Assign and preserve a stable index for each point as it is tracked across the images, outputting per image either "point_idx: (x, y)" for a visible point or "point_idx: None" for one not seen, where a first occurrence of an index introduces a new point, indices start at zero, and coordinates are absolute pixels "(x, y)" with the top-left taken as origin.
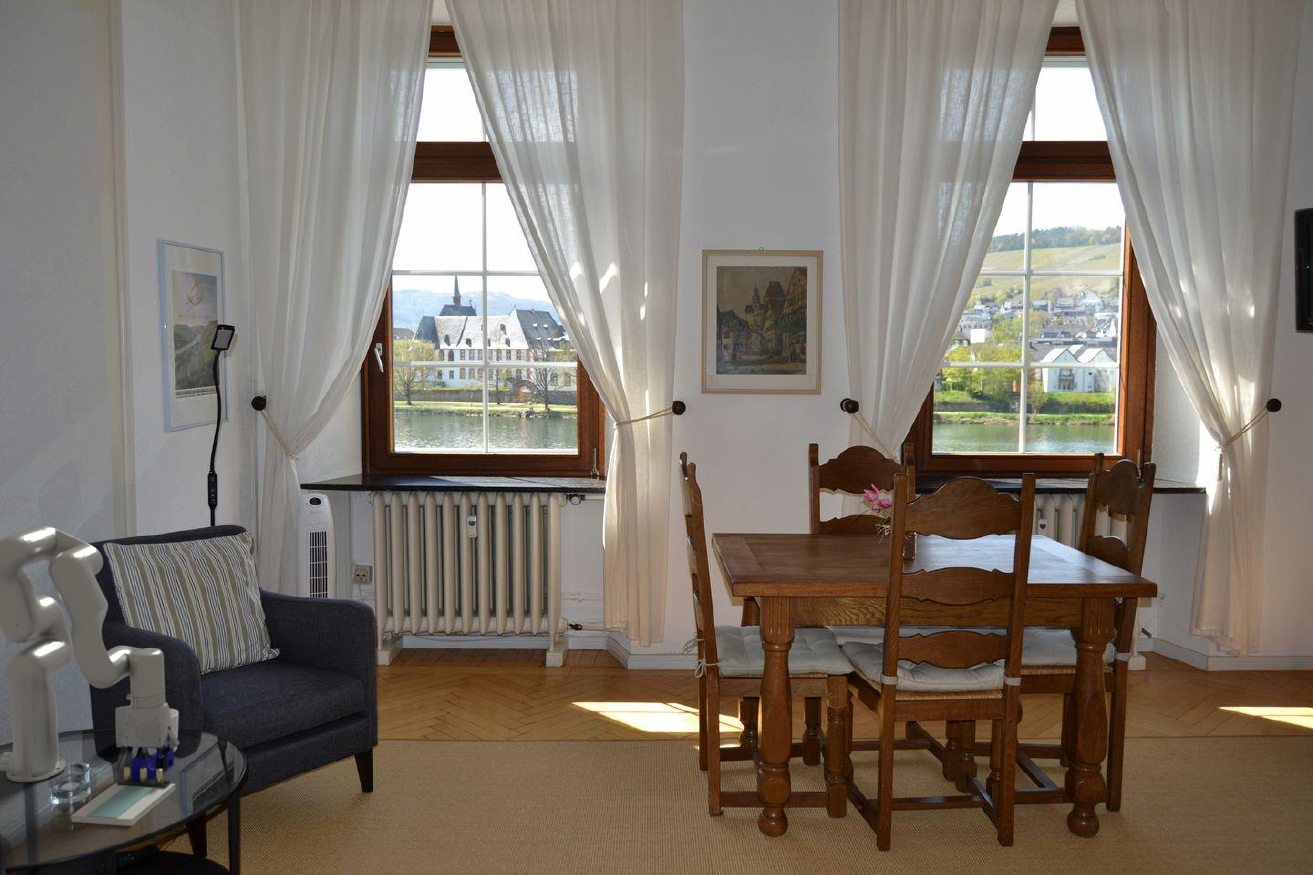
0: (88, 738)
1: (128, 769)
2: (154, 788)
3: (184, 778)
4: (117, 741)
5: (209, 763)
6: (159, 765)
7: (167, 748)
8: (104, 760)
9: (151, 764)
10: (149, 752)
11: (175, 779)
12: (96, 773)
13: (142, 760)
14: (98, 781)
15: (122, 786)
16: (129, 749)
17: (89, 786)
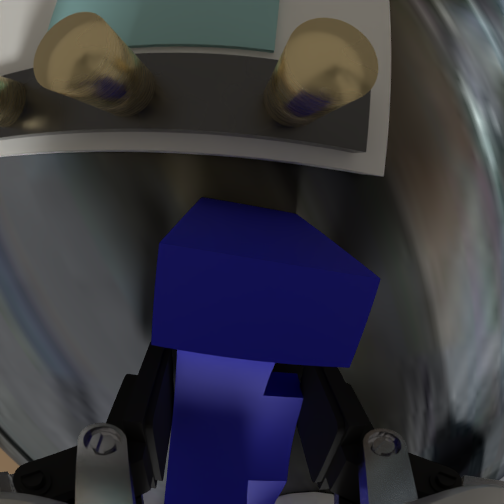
0: (489, 475)
1: (294, 35)
2: None
3: (17, 307)
4: None
5: (40, 439)
6: (138, 382)
7: (27, 486)
8: (471, 420)
9: (253, 426)
10: (331, 500)
11: (47, 295)
12: (495, 325)
13: (173, 276)
14: (481, 242)
15: None
16: (434, 469)
17: (497, 180)
